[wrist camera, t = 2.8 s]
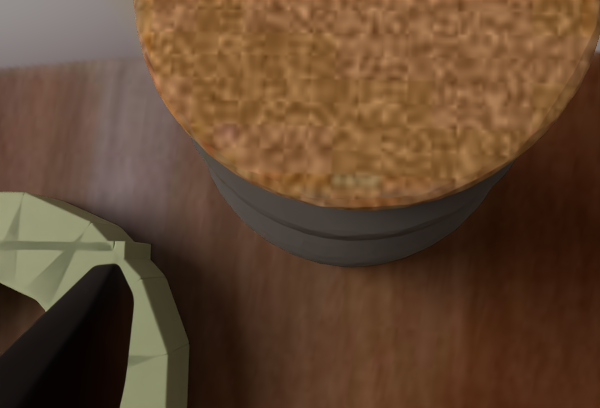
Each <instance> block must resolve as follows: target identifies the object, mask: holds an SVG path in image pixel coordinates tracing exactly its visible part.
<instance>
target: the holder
mask: <svg viewBox="0 0 600 408" xmlns="http://www.w3.org/2000/svg"><path fill="white" fill-rule="evenodd" d="M150 258H151V244H147V243H138V242H134V241H133V240H132V239H131V238H130V237H129V236H128V234H127V233H126V232H125V231H124V230H123V229H122V228H121V227H120V226H118V225H116V224H113V223H111V222H109V221H107V220H104V219H102V218H100V217H98V216H96V215H93V214H91V213H89V212H87V211H84V210H82V209H80V208H78V207H75V206H73V205H71V204H69V203H67V202H64V201H62V200H57V199H53V198H49V197H44V196H40V195H36V194H31V193H26V192H0V283H1V284H3V285H6V286H8V287H10V288H12V289H14V290H16V291H18V292H20V293H22V294H24V295H27V296H29V297H31V298H33V299H35V300H37V301H38V303H39V304H40V305H41V306H42V307H43V308H44V310H45V311H47V310H48V309H49V308H50V307H51V306H52V305H53V304H54V303H56V302H57V301H58V300H59V299H60V298H61V297H62V296H63V295H64V294H65V293H66V292H67V291H68V290H69V289H70V288H71V287H72V286H73V285H74V284H75V283H76V282H77V281H78V280H79V279H81V278H82V277H83V276H84V275H85V274H86V273H87V272H88V271H89V270H90V269H91V268H92V267H94V266H96V265H102V264H112V263H114V264H117V265H119V266H120V268H121V269H122V272H123V274H124V276H125V278H126V280H127V282H128V284H129V286H130V288H131V291H132V293H133V297H134V312H133V321H132V330H131V339H130V348H129V357H128V366H127V374H126V381H125V386H124V391H123V396H122V400H121V404H120V408H187V395H188V370H189V344H188V343H189V341H188V338H187V335H186V332H185V329H184V327H183V324H182V321H181V318H180V315H179V312H178V310H177V307H176V304H175V301H174V298H173V296H172V293H171V290H170V287H169V284H168V281H167V279H166V277H165V275H164V274H163V273H162V272H161V271H160V270H159V269H158V267H157V266H156V265H155V264H154V263H153V262H152V261H151V260H150Z"/></svg>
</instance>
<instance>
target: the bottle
mask: <svg viewBox="0 0 600 408" xmlns="http://www.w3.org/2000/svg"><path fill="white" fill-rule="evenodd" d="M134 8H135V17H136V27H137V32H138V35H139V39H140V43H141V47H142V51H143V55H144V58H145V62H146V64H147V67H148V69H149V72H150V74H151V76H152V79H153V81H154V84H155V86H156V88H157V91H158V93H159V94H160V96H161V98H162V99H163V101H164V103H165V104H166V106H167V108H168V110H169V111H170V112H171V114H172V115H173V116H174V117H175V118H176V120H177V121H178V122H179V123H180V125H181V126H182V127H183V128H184V130H185V131H186V132H187V133H188V134H189V135H190V137H191V139H192V141H193V143H194V146H195V148H196V150H197V151H198V152H199V154H200V155H201V157H202V158H203V159H204V161H205V162H206V164H207V167H208V169H209V172H210V174H211V177H212V179H213V181H214V183H215V185H216V186H217V188H218V190H219V191H220V193H221V194H222V196H223V197H224V199H225V200H226V201H227V202H228V204H229V205H230V206H231V208H232V209H233V210H234V211H235V213H236V214H237V215H238V216H239V217H240V218H241V219H242V220H243V221H244V222H245V223H246V224H247V225H248V226H249V227H250V228H251V229H253V230H254V231H255V232H257V233H258V234H259V235H261V236H262V237H263V238H265V239H266V240H267V241H269V242H270V243H272V244H274V245H276V246H278V247H280V248H282V249H284V250H286V251H287V252H289V253H291V254H293V255H296V256H299V257H302V258H305V259H308V260H311V261H314V262H317V263H321V264H328V265H335V266H342V267H354V266H371V265H378V264H383V263H387V262H391V261H395V260H398V259H402V258H405V257H407V256H410V255H412V254H414V253H417V252H419V251H421V250H423V249H426V248H428V247H430V246H432V245H433V244H435V243H436V242H438V241H439V240H441V239H442V238H444V237H446V236H447V235H449V234H450V233H452V232H453V231H455V230H456V229H457V228H458V227H459V226H460V225H461V224H462V223H463V222H464V221H465V220H466V219H467V218H468V217H469V216H470V215H471V214H472V213H473V212H474V211H475V210H476V209H477V207H478V206H479V205H480V204H481V203H482V201H483V200H484V198H485V197H486V195H487V194H488V192H489V191H490V189H491V188H492V186H493V185H494V184H496V183H497V182H498V181H499V180H500V179H501V178H502V177H503V176H504V175H505V173H506V172H507V171H508V170H509V168H510V167H511V166H512V164H513V163H514V162H515V160H516V159H517V158H518V157H519V156H520V155H521V154H523V153H524V152H525V151H526V150H527V149H529V148H530V147H531V146H532V145H534V144H535V143H536V142H537V141H538V140H539V139H540V138H541V137H542V136H543V135H544V134H545V133H546V132H547V131H548V130H549V129H550V128H551V127H552V126H553V125H554V124H555V122H556V121H557V119H558V118H559V116H560V115H561V113H562V112H563V111H564V109H565V108H566V106H567V105H568V103H569V102H570V100H571V99H572V97H573V96H574V95H575V93H576V92H577V90H578V89H579V87H580V85H581V83H582V81H583V79H584V77H585V75H586V73H587V71H588V68H589V66H590V64H591V62H592V59H593V56H594V52H595V49H596V46H597V42H598V39H599V35H600V0H134Z"/></svg>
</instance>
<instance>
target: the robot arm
mask: <svg viewBox="0 0 600 408" xmlns="http://www.w3.org/2000/svg"><path fill="white" fill-rule="evenodd" d="M133 312H134V297H133V293H132V291H131V288H130V286H129V284H128V282H127V280H126V278H125V276H124V274H123V272H122V269H121V268H120V266H119V265H117V264H114V263H112V264H102V265H96V266H94V267H92V268H91V269H90V270H89V271H88V272H87V273H86V274H85V275H84V276H83V277H82V278H81V279H79V280H78V281H77V282H76V283H75V284H74V285H73V286H72V287H71V288H70V289H69V290H68V291H67V292H66V293H65V294H64V295H63V296H62V297H61V298H60V299H59V300H58V301H57V302H56V303H54V304H53V305H52V306H51V307H50V308H49V309H48V310H47V311H46V312H45V313H44V314H43V315H42V316H41V317H40V318H39V319H38V320H37V321H36V322H35V323H34V324H33V325H32V326H31V327H29V328H28V329H27V330H26V331H25V332H24V333H23V334H22V335H21V336H20V337H19V338H18V339H17V340H16V341H15V342H14V343H13V344H12V345H11V346H10V347H9V348H8V349H7V350H6V351H4V352H3V353H2V354H1V355H0V408H120V404H121V400H122V396H123V391H124V386H125V381H126V374H127V366H128V357H129V348H130V339H131V330H132V321H133Z"/></svg>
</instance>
